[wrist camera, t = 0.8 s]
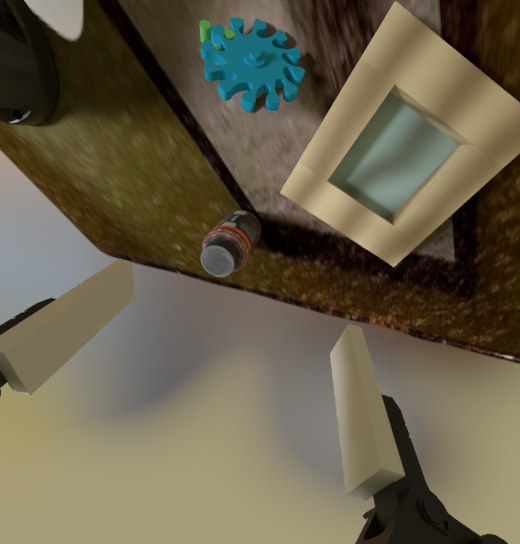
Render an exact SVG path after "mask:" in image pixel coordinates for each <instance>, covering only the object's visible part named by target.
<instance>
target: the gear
mask: <svg viewBox="0 0 520 544" xmlns="http://www.w3.org/2000/svg"><path fill="white" fill-rule="evenodd" d="M199 25H200V39H201V42H202V45H201V57H202V58H203V59H204V60H206V61H205V77H206V80H207V81H211V82H212V81H215V80H217V81H219V82H218V92H219V94H220V96H221V97H222V98H223V99H224V100H230V99H231V97H232V96H233V95H234V94H235V93H237V92H240V91H245V90H246V92H245V93H243V94H242V98H241V106H242V107H243V108H244V110H245V111H246V112H251V111H253V110H254V107H255V101H256V97H257V96H258V95H259V94H260V93H267V94H268V95H267V97H266V102H265V108H266V110H269V111H277V110H278V107H279V104H280V98H279V96H278V95H277V93H276V90H275V87H280V88H281V89H282V90H283V98H284V100H285V101H286V102H291V101H293V100H294V99H295V98H296V96H297V93H298V88H297V86H299V85H300V84H301V82H302V79H303V76H304V73H305V70H304V69H303V68H301V67H297V66H298V63H299V60H300V51H299V49H298V48H291V49H285V48H286V43H287V39H288V38H287V36H286V35H285V33H284V32H283V31H282V30H278V31H276V33H275V34H274V35H273V36H271V37H268V38H265V35H266V29H267V24H266V23H264V22H263V21H261V20H259V19H256V20H255V21H254V27H253V31H252V32H251V33H250V34H248V35H243V27H244V21H243V19H240V18H231V19H230V29H226V30H225V31H224V27H223V26H222V25H220V24H219V25H215V26H213V27H211V24H210V23H209V22H208V21H207V20H201V21H200V23H199ZM221 66H222V67H221ZM285 76H288V77H289V78H290V80H291V82H292V83H293V84H292V83H291V82H290V81H289V80H288V79H287V78H286V77H285ZM221 79H224V80H221ZM220 80H221V81H220ZM227 80H229V81H227ZM231 81H232V82H231Z"/></svg>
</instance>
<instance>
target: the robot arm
mask: <svg viewBox="0 0 520 544" xmlns="http://www.w3.org/2000/svg"><path fill="white" fill-rule="evenodd" d="M57 96H58V80H57V73H56V67H55V63H54V59H53V56H52V52H51V49H50V47H49V44H48V42H47V39H46V37H45V35H44V33H43V31H42V29H41V27H40V25H39V23H38V21H37V19H36V18H35V16H34V14H33V13H32V11H31V10H30V8H29V7H28V5H27V4H26V3H25V1H24V0H0V122H3V123H8V124H13V125H29V126H32V125H38V124H41V123H43V122H45V121H46V120H47V119H48V118H49V117H50V116H51V114H52V113H53V111H54V109H55V106H56V102H57ZM134 298H135V291H134V281H133V272H132V263H131V262H129V261H125V260H122V259H118V260H117V261H115V262H113V263H112V264H110V265H109V266H107V267H106V268H104V269H103V270H101V271H100V272H98V273H96V274H95V275H93V276H92V277H90V278H89V279H87V280H85V281H84V282H82V283H81V284H79V285H78V286H77V287H75V288H73V289H72V290H70V291H69V292H67V293H65V294H64V295H62V296H61V297H59V298H58V299H53V298H50V299H47V300H44V301H42V302H39V303H37V304H35V305H33V306H32V307H30V308H28V309H27V310H25V311H24V312H23V313H20V314H18V315H17V316H15V317H14V318H13V319H10V320H9V321H7V322H5V323H4V324H2V325H0V387H2V386H3V385H4V384H5V383H7V382H8V384H9V385H10V387H11V388H12V390H14V391H17V392H20V393H23V394H26V395H32V394H33V393H34V392H35V391H36V390H37V389H38V388H39V387H40V386H41V385H42V384H43V383H44V382H45V381H47V380H48V379H49V378H50V377H51V376H52V375H53V374H54V373H55V372H56V371H57V370H58V369H59V368H61V367H62V366H63V365H64V364H65V363H66V362H67V361H68V360H69V359H70V358H71V357H72V356H73V355H74V354H76V353H77V352H78V351H79V350H80V349H81V348H82V347H83V346H84V345H85V344H86V343H87V342H88V341H89V340H90V339H92V338H93V337H94V336H95V335H96V334H97V333H98V332H99V331H100V330H101V329H102V328H103V327H104V326H106V324H108V323H109V322H110V321H111V320H112V319H113V318H114V317H115V316H116V315H117V314H118V313H119V312H121V311H122V309H124V308H125V307H126V306H127V305H128V304H129V303H130V302H131V301H132V300H133V299H134ZM330 358H331V366H332V375H333V384H334V392H335V401H336V410H337V419H338V426H339V436H340V444H341V454H342V462H343V471H344V480H345V489H346V494H347V495H350V496H353V497H357V498H360V499H363V500H367V499H369V498H370V497H372V496H373V497H374V503H375V508H373V509H371V510H370V511H368V512H366V513H365V514H364V515H363V517H364V518H365V519H367V518H368V520H367V522H366V524H365V526H364V528H363V530H362V532H361V534H360V535H359V537H358V540H357V542H356V543H355V544H508V543H507V542H505V541H504V540H503V539H501V538H499V537H498V536H496V535H492V534H486V535H482V536H479V535H478V534H476V533H475V532H474V531H472V530H470V529H469V528H468V527H466V526H465V525H463V524H462V523H461V522H459V521H458V520H456V519H455V518H453V517H452V516H451V515H450V514H448V512H447V511H446V509H445V507H444V505H443V504H442V503H441V501H440V500H439V499H438V498H437V496H436V495H434V494H433V493H432V492H431V491H430V490H429V488H428V486H427V484H426V481H425V478H424V476H423V473H422V470H421V467H420V464H419V461H418V458H417V456H416V453H415V450H414V447H413V444H412V441H411V439H410V438H409V433H408V430H407V427H406V426H405V421H404V419H403V416H402V413H401V410H400V409H399V407H398V406H397V404H396V403H395V401H394V400H393V398H392V397H388V396H385V395H382V394H381V392H380V389H379V385H378V382H377V379H376V375H375V372H374V368H373V365H372V362H371V359H370V355H369V352H368V348H367V345H366V341H365V338H364V335H363V331H362V328H361V327H357V326H354V325H350V324H348V325H347V327H346V329H345V331H344V332H343V334H342V335H341V337H340V339H339V340H338V342H337V344H336V345H335V347H334V349H333V350H332V352H331V354H330ZM0 395H1V390H0Z"/></svg>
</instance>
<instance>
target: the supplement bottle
mask: <svg viewBox="0 0 520 544" xmlns="http://www.w3.org/2000/svg"><path fill="white" fill-rule="evenodd" d="M260 235H261V225H260V223H259V221H258V219H257V218H256V216H254V215H253V214H252V213H250V212H248V211H245V210H236V211H233V212H231V213H230V214H228V215H227V216H226V217H225V218H224V219H222V220H221V221H220V222H219V223H218V224H217V225H216V226H215V227H214V228H213V229H212V230H211V231H210V232H209V233H208V234H207V235H206V236H205V238H204V240H203V245H202V250H203V251H202V253H201V263H202V265H203V267H204V269H205V270H206V271H207V272H209V273H210V274H212V275H214V276H217V277H225V276H228V275H230V274H231V273H232V272H236V271H238V270H240V269H242V268H243V267H244V266H245V265H246V263H247V262H248V260H249V258H250V256H251V254H252V252H253V250H254V248H255V247H256V245H257V243H258V241H259V238H260Z"/></svg>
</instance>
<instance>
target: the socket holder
mask: <svg viewBox="0 0 520 544" xmlns="http://www.w3.org/2000/svg"><path fill="white" fill-rule="evenodd" d="M519 153H520V102H518V101H517V100H516V99H515V98H513V97H512V96H511V95H510V94H509V93H507V92H506V91H505V90H504V89H503V88H501V87H500V86H499V85H498V84H496V83H495V82H494V81H493V80H492V79H490V78H489V77H488V76H487V75H485V74H484V73H483V72H482V71H481V70H479V69H478V68H477V67H476V66H474V65H473V64H472V63H471V62H470V61H468V60H467V59H466V58H465V57H463V56H462V55H461V54H460V53H459V52H457V51H456V50H455V49H454V48H452V47H451V46H450V45H449V44H448V43H446V42H445V41H444V40H443V39H442V38H440V37H439V36H438V35H437V34H435V33H434V32H433V31H432V30H431V29H429V28H428V27H427V26H426V25H424V24H423V23H422V22H421V21H420V20H418V19H417V18H416V17H415V16H413V15H412V14H411V13H410V12H409V11H407V10H406V9H405V8H404V7H402V6H401V5H400V4H399V3H398V2H396V1H395V2H394V4H393V5H392V7H391V9H390V10H389V12H388V13H387V15H386V17H385V18H384V20H383V22H382V23H381V25H380V27H379V28H378V30H377V32H376V33H375V35H374V37H373V38H372V40H371V42H370V43H369V45H368V47H367V48H366V50H365V51H364V53H363V55H362V56H361V58H360V60H359V61H358V63H357V65H356V66H355V68H354V70H353V71H352V73H351V75H350V76H349V78H348V80H347V81H346V83H345V85H344V86H343V88H342V90H341V91H340V93H339V95H338V96H337V98H336V100H335V101H334V103H333V105H332V106H331V108H330V110H329V111H328V113H327V115H326V116H325V118H324V120H323V121H322V123H321V125H320V126H319V128H318V130H317V131H316V133H315V135H314V136H313V138H312V140H311V141H310V143H309V145H308V146H307V148H306V150H305V151H304V153H303V155H302V156H301V158H300V160H299V161H298V163H297V165H296V166H295V168H294V170H293V171H292V173H291V175H290V176H289V178H288V180H287V181H286V183H285V185H284V186H283V188H282V190H281V191H280V193H281V194H283V195H284V196H286V197H287V198H289V199H290V200H292V201H293V202H295V203H296V204H298V205H299V206H301V207H303V208H304V209H306V210H307V211H309V212H310V213H312V214H313V215H315V216H316V217H318V218H319V219H321V220H323V221H324V222H326V223H327V224H329V225H330V226H332V227H333V228H335V229H336V230H338V231H339V232H341V233H343V234H344V235H346V236H347V237H349V238H350V239H352V240H353V241H355V242H356V243H358V244H359V245H361V246H363V247H364V248H366V249H367V250H369V251H370V252H372V253H373V254H375V255H376V256H378V257H379V258H381V259H383V260H384V261H386V262H387V263H389V264H390V265H392V266H393V267H394V266H396V265H397V264H398V263H399V262H400V261H401V260H402V259H403V258H404V257H405V256H407V255H408V254H409V253H410V252H411V251H412V250H413V249H414V248H415V247H417V246H418V245H419V244H420V243H421V242H422V241H423V240H424V239H425V238H426V237H428V236H429V235H430V234H431V233H432V232H433V231H434V230H435V229H436V228H438V227H439V226H440V225H441V224H442V223H443V222H444V221H445V220H446V219H447V218H449V217H450V216H451V215H452V214H453V213H454V212H455V211H456V210H457V209H458V208H460V207H461V206H462V205H463V204H464V203H465V202H466V201H467V200H468V199H470V198H471V197H472V196H473V195H474V194H475V193H476V192H477V191H478V190H479V189H481V188H482V187H483V186H484V185H485V184H486V183H487V182H488V181H489V180H491V179H492V178H493V177H494V176H495V175H496V174H497V173H498V172H499V171H500V170H502V169H503V168H504V167H505V166H506V165H507V164H508V163H509V162H510V161H512V160H513V159H514V158H515V157H516V156H517V155H518V154H519Z"/></svg>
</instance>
